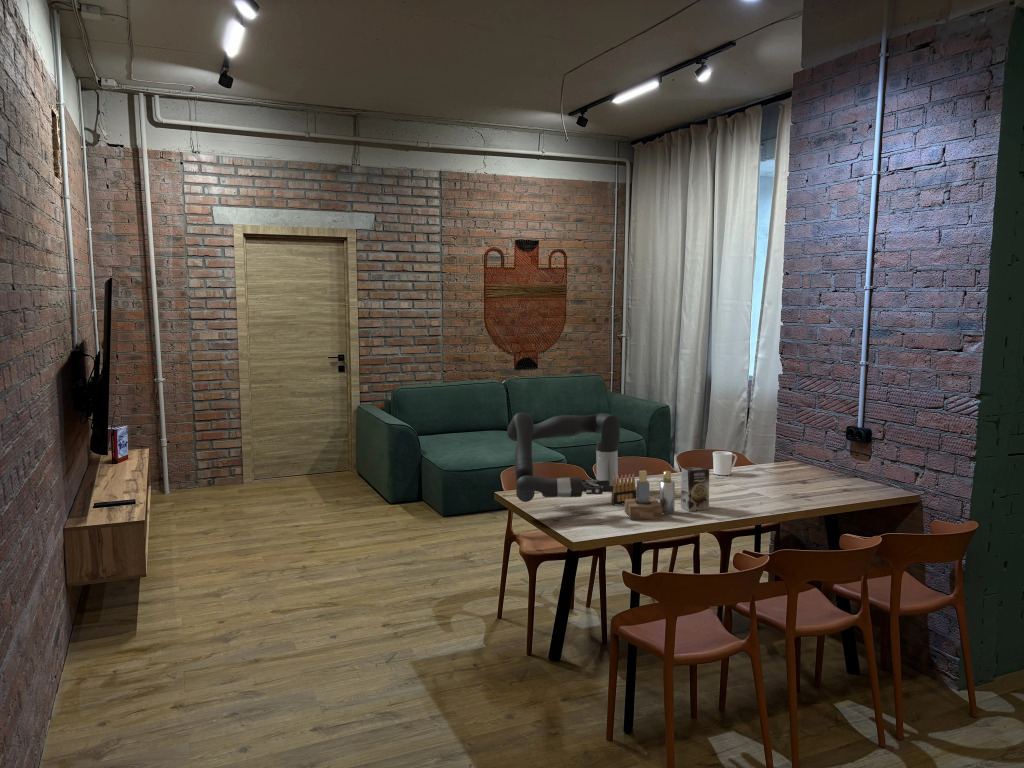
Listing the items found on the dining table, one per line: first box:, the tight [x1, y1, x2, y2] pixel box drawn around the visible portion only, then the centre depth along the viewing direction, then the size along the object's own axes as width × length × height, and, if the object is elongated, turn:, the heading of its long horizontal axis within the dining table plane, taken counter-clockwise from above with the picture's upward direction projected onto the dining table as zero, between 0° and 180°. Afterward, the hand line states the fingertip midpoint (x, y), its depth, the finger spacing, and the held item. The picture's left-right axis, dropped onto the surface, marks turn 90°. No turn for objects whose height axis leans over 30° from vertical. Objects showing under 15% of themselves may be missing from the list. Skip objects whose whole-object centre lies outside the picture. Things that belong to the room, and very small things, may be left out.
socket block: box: [624, 497, 663, 521], centre depth 275 cm, size 12×12×5 cm
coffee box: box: [680, 466, 710, 512], centre depth 282 cm, size 9×6×16 cm
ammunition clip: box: [611, 472, 637, 505], centre depth 292 cm, size 11×2×12 cm, turn 111°
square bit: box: [636, 469, 650, 504], centre depth 274 cm, size 4×4×16 cm
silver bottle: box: [659, 470, 676, 515], centre depth 278 cm, size 6×6×16 cm
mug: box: [712, 450, 738, 477], centre depth 339 cm, size 11×9×10 cm
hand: (611, 486), depth 274 cm, fingers open, 8 cm apart
